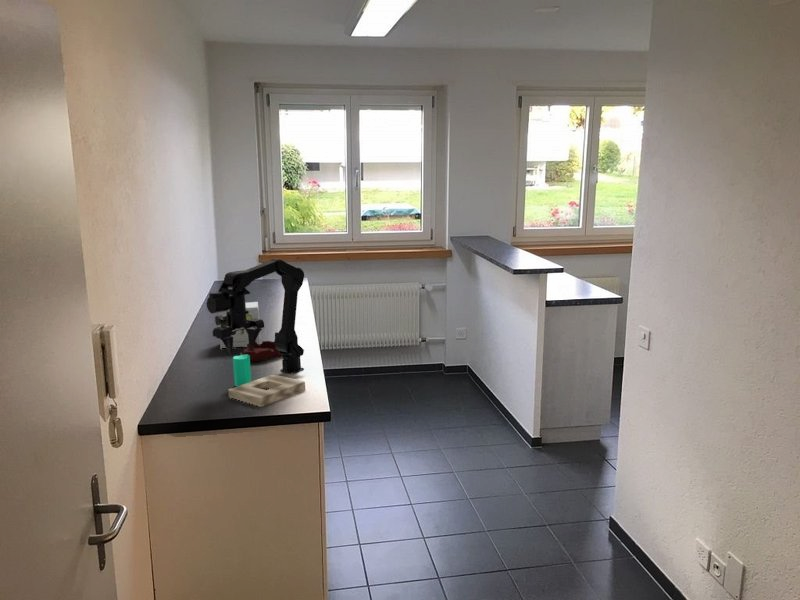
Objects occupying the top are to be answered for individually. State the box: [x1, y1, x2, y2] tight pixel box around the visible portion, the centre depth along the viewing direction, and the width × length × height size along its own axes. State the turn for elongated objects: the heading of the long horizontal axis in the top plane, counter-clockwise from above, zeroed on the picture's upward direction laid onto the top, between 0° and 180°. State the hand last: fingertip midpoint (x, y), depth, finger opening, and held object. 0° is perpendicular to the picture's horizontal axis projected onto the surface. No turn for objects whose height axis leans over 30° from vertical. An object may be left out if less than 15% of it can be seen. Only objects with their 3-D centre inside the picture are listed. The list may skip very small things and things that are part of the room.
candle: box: [232, 354, 253, 387], centre depth 230 cm, size 6×6×12 cm
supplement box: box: [217, 301, 262, 350], centre depth 287 cm, size 17×13×18 cm
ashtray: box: [242, 340, 284, 362], centre depth 268 cm, size 18×16×5 cm
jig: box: [227, 374, 306, 408], centre depth 221 cm, size 20×16×3 cm
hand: (241, 351), depth 229 cm, fingers open, 9 cm apart
